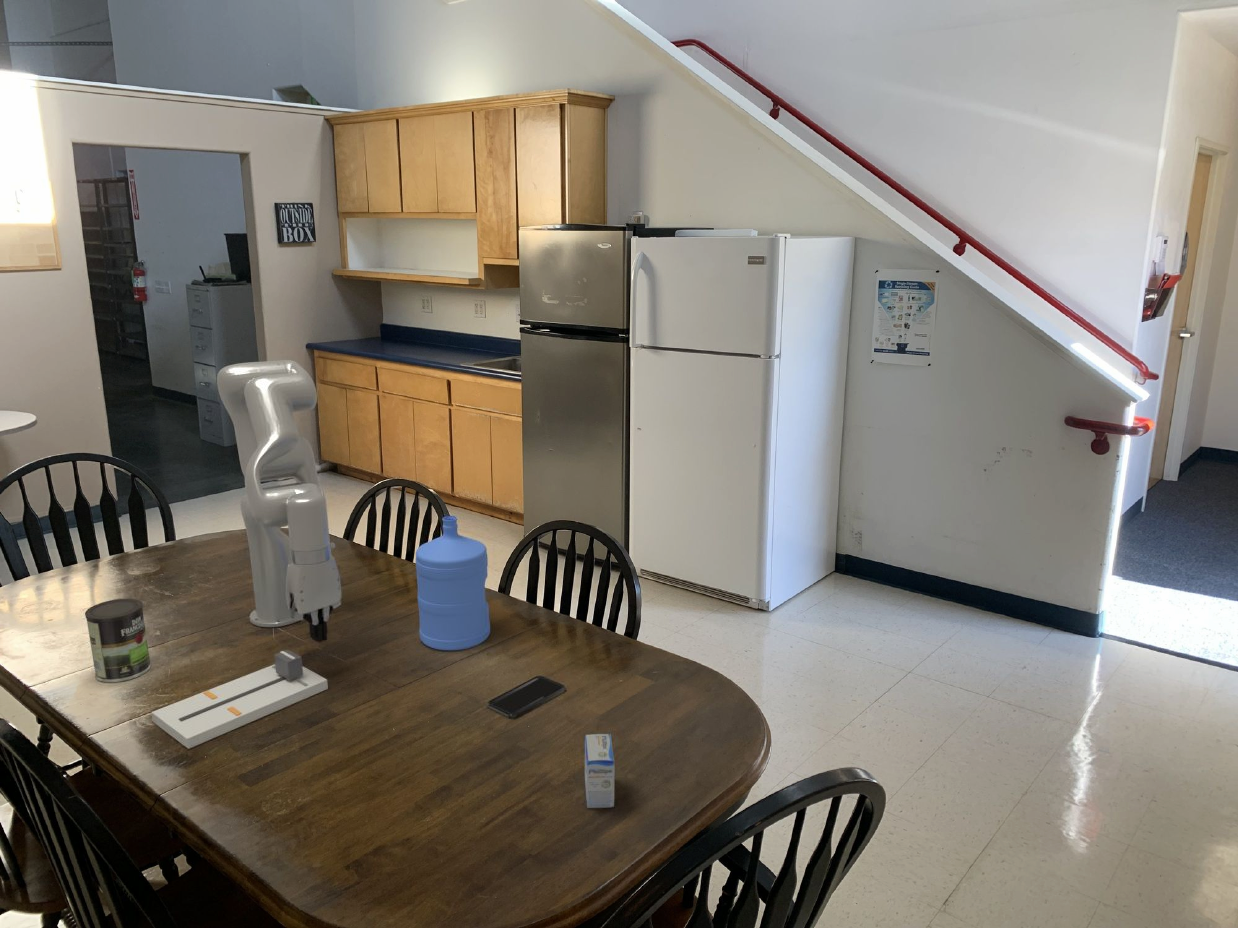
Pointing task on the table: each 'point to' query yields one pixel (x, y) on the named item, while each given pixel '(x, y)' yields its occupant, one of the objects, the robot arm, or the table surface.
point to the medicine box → (599, 771)
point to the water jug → (452, 590)
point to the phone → (525, 697)
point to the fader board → (235, 704)
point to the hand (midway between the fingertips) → (319, 639)
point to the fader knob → (288, 664)
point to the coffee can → (118, 640)
